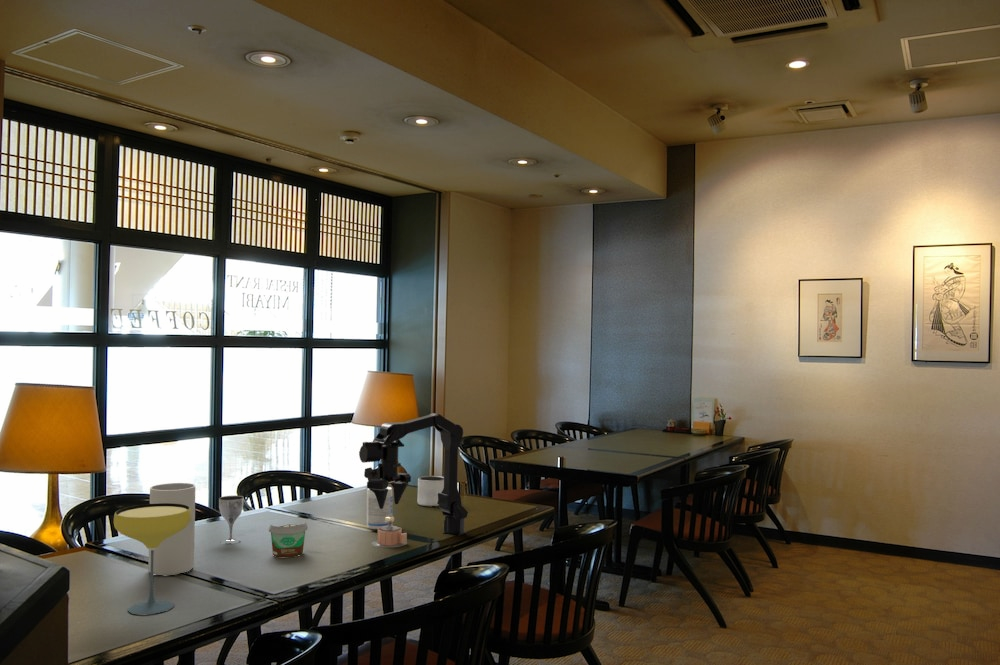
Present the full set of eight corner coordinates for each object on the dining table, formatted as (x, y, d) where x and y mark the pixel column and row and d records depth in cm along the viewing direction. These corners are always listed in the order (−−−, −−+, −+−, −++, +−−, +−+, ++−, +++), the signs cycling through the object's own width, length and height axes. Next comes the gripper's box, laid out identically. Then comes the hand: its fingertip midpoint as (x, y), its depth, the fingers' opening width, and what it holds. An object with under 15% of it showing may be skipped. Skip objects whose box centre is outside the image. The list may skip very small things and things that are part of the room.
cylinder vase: (165, 579, 224) (167, 492, 225) (139, 572, 231) (141, 487, 231) (202, 569, 235) (204, 485, 235) (176, 562, 242) (178, 481, 242)
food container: (272, 560, 245) (272, 528, 245) (268, 556, 250) (268, 524, 251) (311, 556, 251) (311, 525, 251) (306, 551, 256) (307, 521, 256)
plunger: (400, 539, 267) (400, 516, 268) (391, 543, 263) (392, 519, 263) (387, 537, 270) (387, 515, 270) (378, 541, 265) (379, 518, 265)
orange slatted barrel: (410, 542, 267) (411, 527, 267) (397, 547, 260) (398, 532, 260) (386, 539, 272) (386, 524, 272) (372, 544, 264) (373, 529, 264)
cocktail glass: (119, 625, 187) (121, 521, 188) (105, 605, 202) (107, 507, 202) (197, 611, 198) (199, 512, 198) (179, 592, 213) (181, 500, 213)
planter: (445, 507, 329) (445, 480, 329) (415, 507, 329) (416, 480, 329) (447, 501, 341) (448, 475, 342) (419, 501, 342) (419, 475, 342)
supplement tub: (396, 529, 289) (397, 489, 290) (373, 532, 284) (373, 491, 284) (385, 523, 297) (386, 485, 298) (362, 526, 292) (362, 487, 292)
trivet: (413, 542, 269) (413, 541, 269) (394, 551, 258) (394, 549, 258) (384, 538, 274) (384, 537, 274) (364, 546, 263) (364, 544, 263)
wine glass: (247, 540, 270) (248, 496, 270) (231, 545, 263) (231, 500, 263) (230, 537, 273) (231, 494, 273) (213, 542, 266) (213, 498, 266)
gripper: (385, 455, 279) (384, 499, 278) (353, 462, 262) (353, 508, 261) (412, 457, 274) (411, 502, 274) (381, 464, 257) (381, 512, 257)
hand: (388, 506), depth 266 cm, fingers open, 9 cm apart
